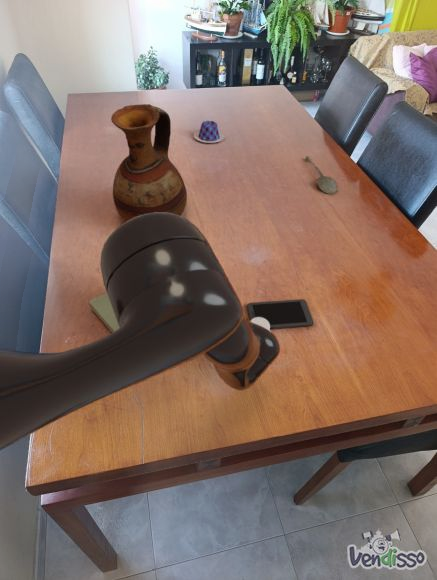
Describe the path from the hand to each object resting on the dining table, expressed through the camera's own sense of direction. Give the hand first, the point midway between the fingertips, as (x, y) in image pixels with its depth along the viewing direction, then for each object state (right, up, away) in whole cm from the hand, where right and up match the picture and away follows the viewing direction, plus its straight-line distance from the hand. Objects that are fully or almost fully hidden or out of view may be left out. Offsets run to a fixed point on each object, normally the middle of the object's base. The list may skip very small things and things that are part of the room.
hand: (131, 250), depth 75 cm
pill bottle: (+25, -21, +2) cm, 32 cm away
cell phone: (+31, -14, +9) cm, 35 cm away
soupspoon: (+51, +30, +51) cm, 79 cm away
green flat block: (+1, -12, +9) cm, 15 cm away
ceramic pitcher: (-2, +14, +33) cm, 36 cm away
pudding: (+14, +50, +68) cm, 85 cm away
